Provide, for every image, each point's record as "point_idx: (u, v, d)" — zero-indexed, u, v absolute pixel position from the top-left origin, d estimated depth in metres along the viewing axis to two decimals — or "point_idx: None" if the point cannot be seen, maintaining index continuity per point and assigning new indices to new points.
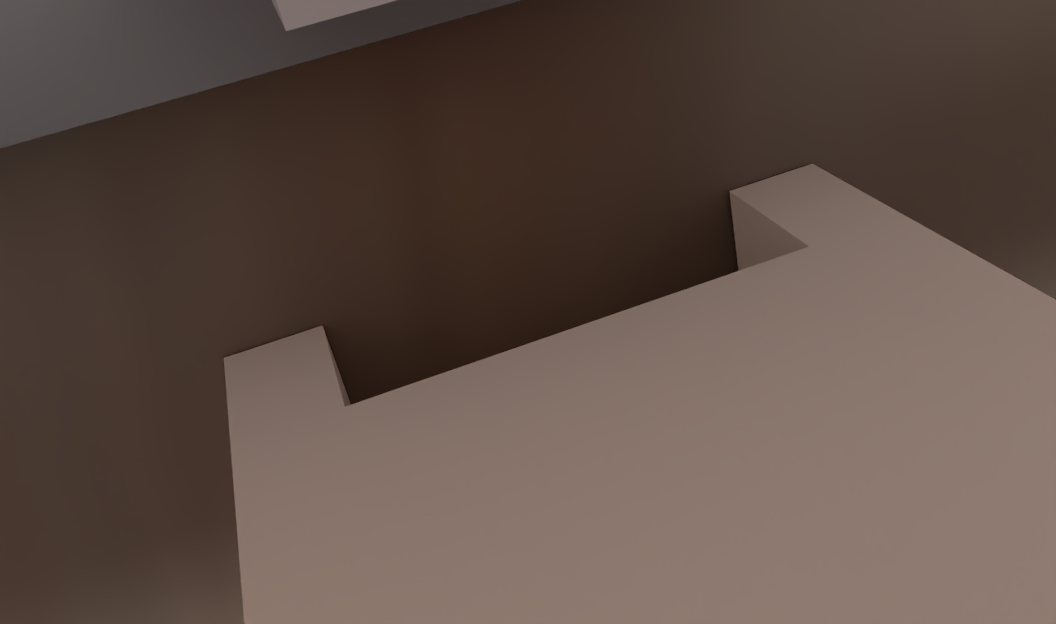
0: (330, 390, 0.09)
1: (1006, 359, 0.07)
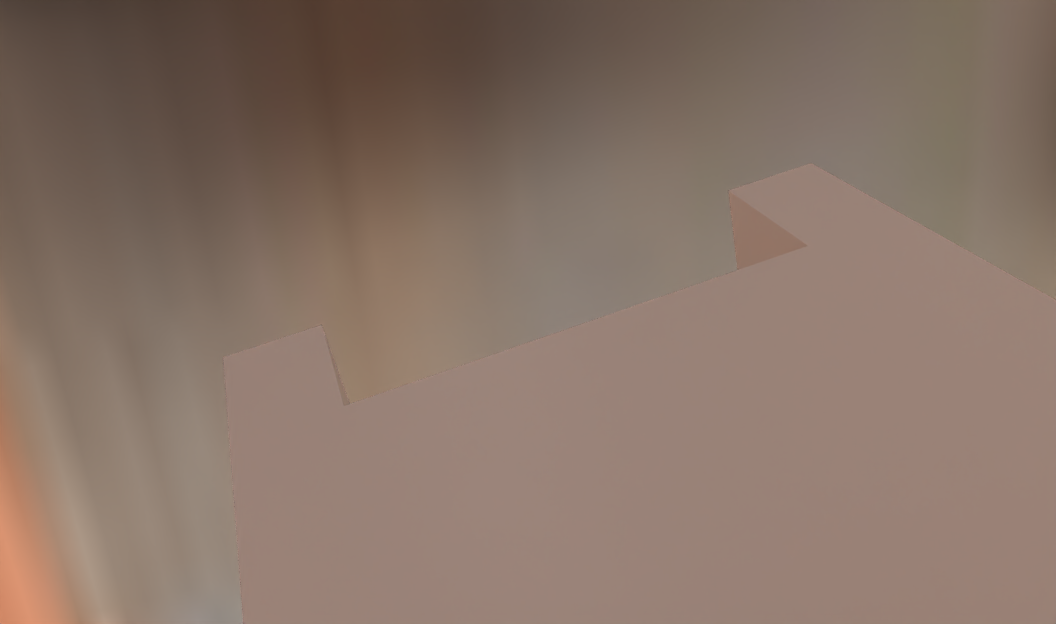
0: (329, 389, 0.09)
1: (1005, 358, 0.07)
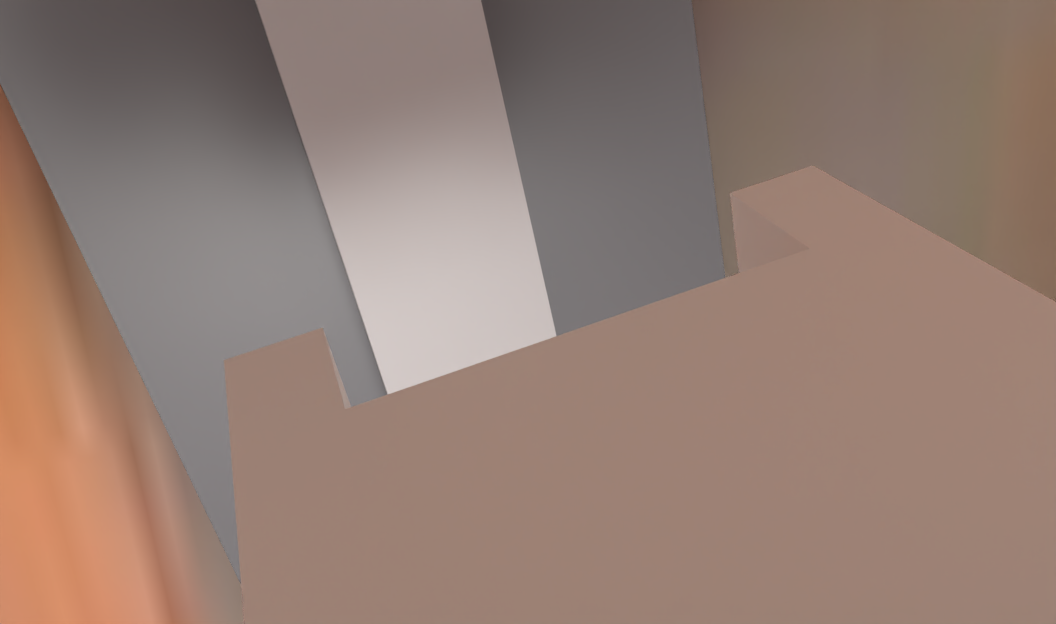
0: (331, 393, 0.09)
1: (1008, 361, 0.07)
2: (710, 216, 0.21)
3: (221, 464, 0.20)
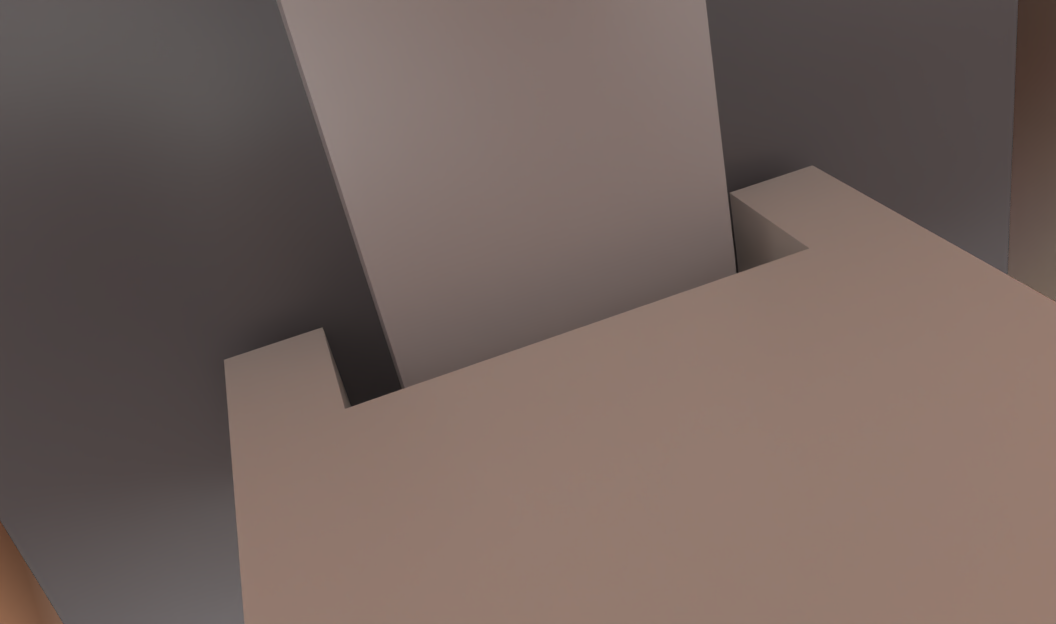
0: (330, 393, 0.09)
1: (1007, 362, 0.07)
2: None
3: None
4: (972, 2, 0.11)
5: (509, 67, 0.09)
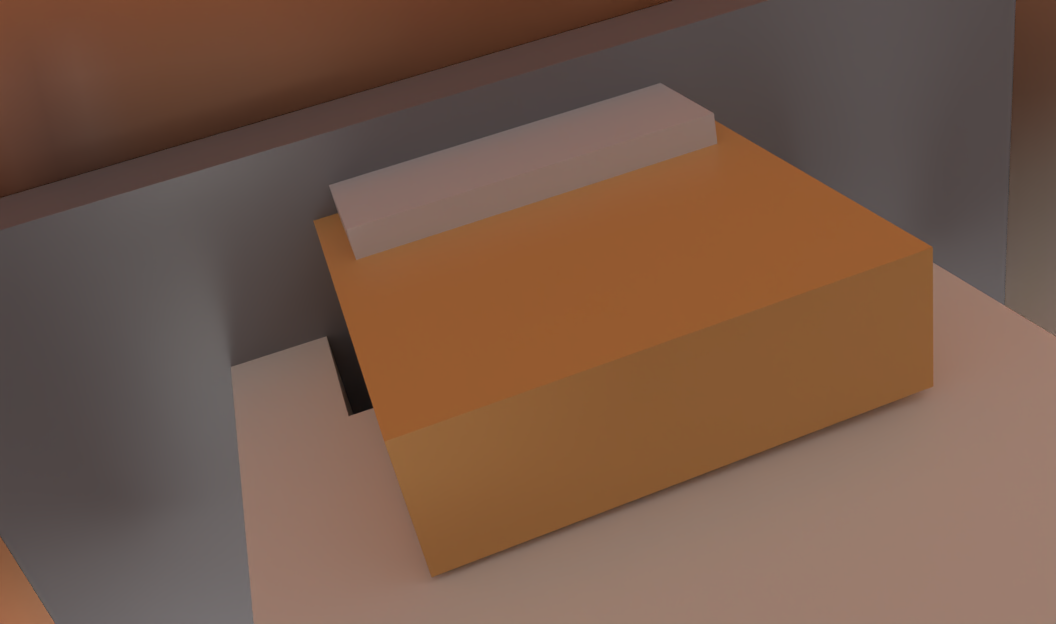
0: (334, 400, 0.09)
1: (982, 378, 0.08)
2: None
3: None
4: None
5: None
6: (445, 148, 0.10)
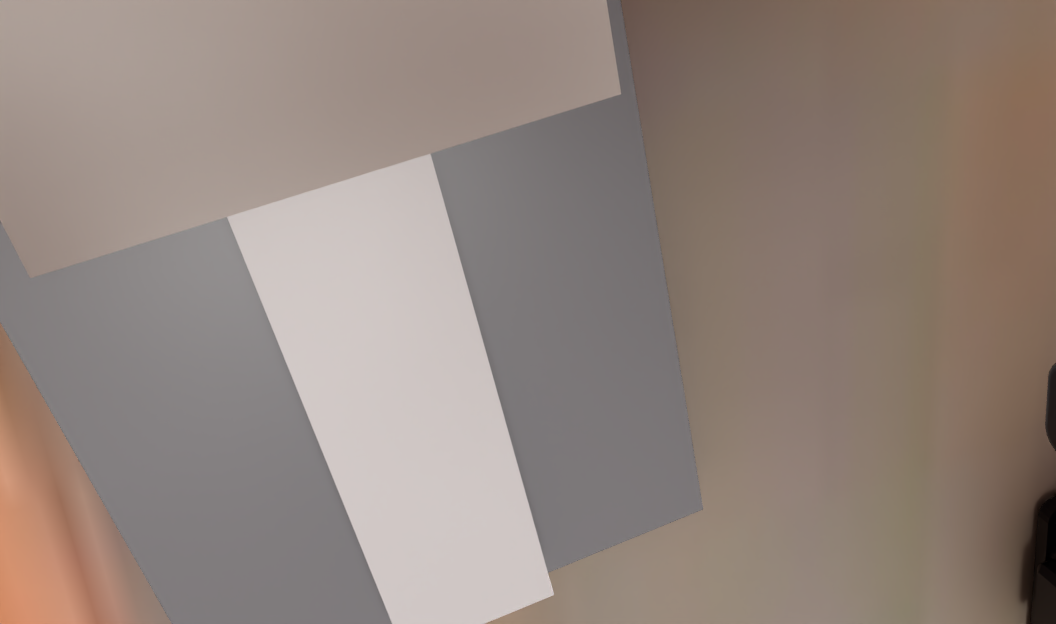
0: None
1: None
2: (653, 251, 0.21)
3: (152, 516, 0.20)
4: None
5: None
6: None
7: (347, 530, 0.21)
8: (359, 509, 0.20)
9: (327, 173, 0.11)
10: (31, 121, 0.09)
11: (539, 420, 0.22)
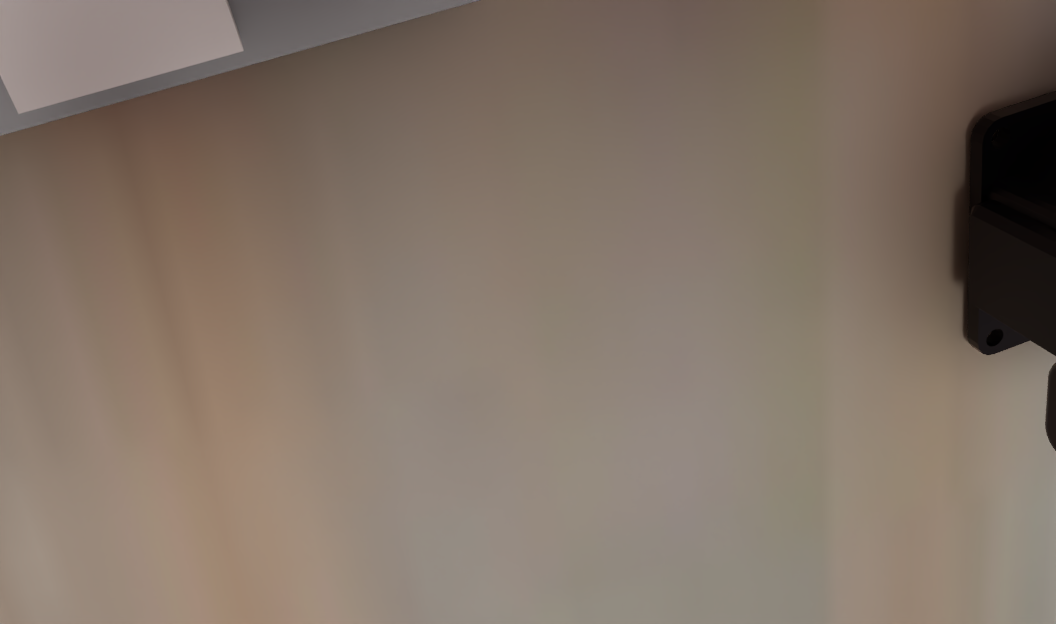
0: None
1: None
2: None
3: None
4: None
5: None
6: None
7: None
8: None
9: None
10: None
11: None
